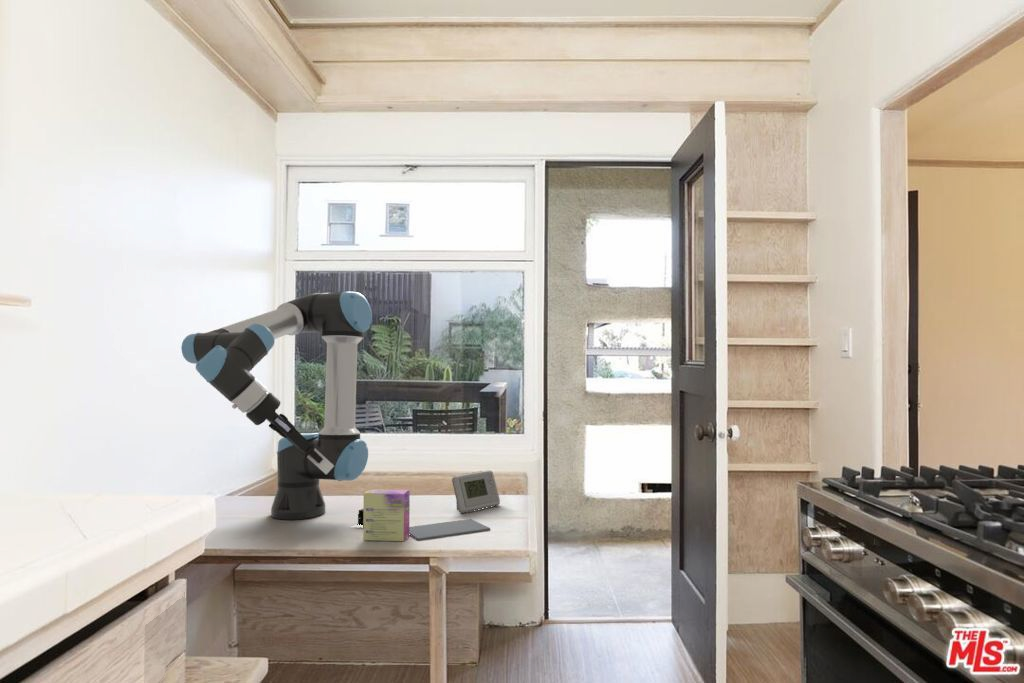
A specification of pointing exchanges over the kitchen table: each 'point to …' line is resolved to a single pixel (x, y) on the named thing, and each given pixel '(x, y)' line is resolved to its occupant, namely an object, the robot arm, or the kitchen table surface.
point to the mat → (446, 529)
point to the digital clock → (475, 491)
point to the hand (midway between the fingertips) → (329, 469)
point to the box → (386, 515)
